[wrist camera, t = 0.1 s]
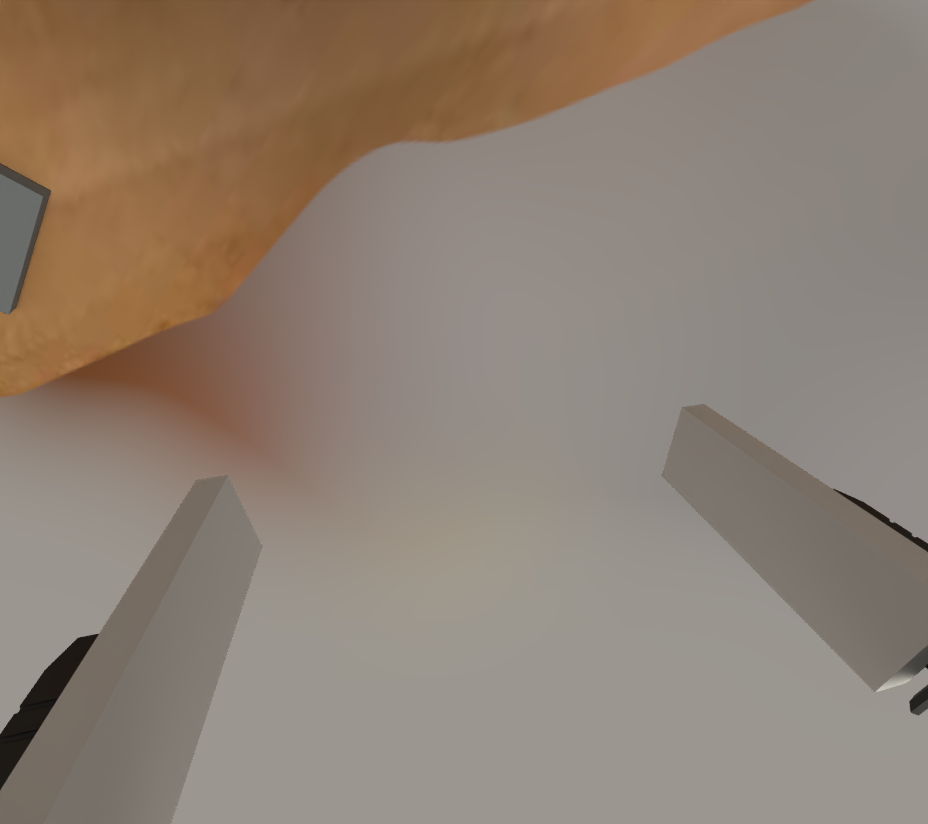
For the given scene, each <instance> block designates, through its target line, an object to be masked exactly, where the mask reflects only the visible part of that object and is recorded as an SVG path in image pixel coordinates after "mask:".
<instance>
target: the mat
mask: <svg viewBox="0 0 928 824" xmlns="http://www.w3.org/2000/svg"><path fill="white" fill-rule="evenodd" d="M49 194H50V190H48V189H46V188H44V187H42V186H40V185H39V184H37V183H35V182H33V181H31V180H29V179H27V178H26V177H24V176H22V175H20V174H18V173H16V172H15V171H13V170H11V169H9V168H7V167H5V166H3V165H2V164H0V311H1V312H3V313H6V314H10V313H11V312H12V311H13V310H14V309H15V308H16V306H17V302H18V299H19V296H20V292H21V289H22V286H23V282H24V279H25V275H26V272H27V269H28V265H29V262H30V259H31V255H32V252H33V248H34V245H35V242H36V238H37V235H38V232H39V228H40V225H41V221H42V218H43V215H44V211H45V208H46V205H47V201H48V198H49Z"/></svg>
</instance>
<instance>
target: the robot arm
mask: <svg viewBox="0 0 928 824" xmlns="http://www.w3.org/2000/svg"><path fill="white" fill-rule="evenodd" d="M662 477H663V478H664V479H665V480H666V481H667V482H668V483H669V484H670V485H671V486H672V487H673V488H674V489H675V490H676V491H677V492H678V493H679V494H680V495H681V496H682V497H683V498H684V499H685V500H686V501H687V502H688V503H689V504H690V505H691V506H692V507H693V508H694V509H695V510H696V511H697V512H698V513H699V514H700V515H701V516H702V517H703V518H704V519H705V520H706V521H707V522H708V523H709V524H710V525H711V526H712V527H713V528H714V529H715V530H716V531H717V532H718V533H719V534H720V536H721V537H722V538H723V539H724V540H725V541H726V542H727V543H728V544H729V545H730V546H731V547H733V549H734V550H735V551H736V552H737V553H738V554H739V555H740V556H741V557H742V558H743V559H744V560H745V561H746V562H747V563H748V564H749V565H750V566H751V567H752V568H753V569H754V570H755V571H756V572H757V573H758V574H759V575H760V576H761V577H762V578H763V579H764V580H765V581H766V582H767V583H768V584H769V585H770V586H771V587H772V588H773V589H774V590H775V591H776V592H777V593H778V594H779V595H780V596H781V598H782V599H783V600H785V602H786V603H787V604H788V605H790V606H791V608H793V610H794V611H795V612H796V613H797V614H798V615H799V616H800V617H801V618H802V619H803V620H804V621H805V622H806V623H807V624H808V625H809V626H810V627H811V628H812V629H813V630H814V631H815V632H816V633H817V634H818V635H819V636H820V637H821V638H822V639H823V640H824V641H825V642H826V643H827V644H828V645H829V646H830V647H831V648H832V649H833V650H834V651H835V652H836V653H837V654H838V655H839V656H840V657H841V658H842V659H843V661H844V662H846V664H848V666H849V667H850V668H851V669H852V670H853V671H854V672H855V673H856V674H857V675H858V676H859V677H860V678H861V679H862V680H863V681H864V682H865V683H866V684H867V685H868V686H869V687H870V688H871V689H872V690H873V691H874V692H877V691H881V690H884V689H888V688H891V687H894V686H898V685H901V684H905V683H907V682H908V681H909V680H911V679H912V678H913V677H914V676H915V675H916V674H918V673H919V672H920V671H921V670H922V669H923V668H925V667H926V668H927V669H928V543H926V542H924V541H923V540H921V539H920V538H918V537H916V538H915V537H913V536H912V533H910V532H909V531H907V530H906V529H904V528H903V527H901V526H900V525H898V524H897V523H891V522H890V521H889V518H887V517H886V516H884V515H883V514H881V513H879V512H878V511H876V510H875V509H873V508H872V507H870V506H868V505H867V504H866V503H864V502H862V501H860V500H858V499H856V498H853V497H851V496H849V495H846V494H844V493H842V492H840V491H838V490H835V489H832V488H830V487H829V486H827V485H826V484H824V483H823V482H821V481H819V480H818V479H816V478H815V477H813V476H812V475H810V474H809V473H807V472H806V471H804V470H803V469H801V468H800V467H798V466H797V465H795V464H794V463H792V462H791V461H789V460H788V459H786V458H785V457H783V456H782V455H780V454H779V453H777V452H776V451H774V450H773V449H771V448H770V447H768V446H767V445H765V444H763V443H762V442H761V441H759V440H758V439H756V438H754V437H753V436H752V435H750V434H748V433H747V432H746V431H744V430H742V429H741V428H739V427H738V426H736V425H735V424H733V423H732V422H730V421H729V420H727V419H726V418H724V417H723V416H721V415H720V414H718V413H717V412H715V411H714V410H712V409H711V408H709V407H708V406H706V405H704V404H701V405H694V406H688V407H682V409H681V412H680V416H679V419H678V422H677V426H676V429H675V432H674V436H673V439H672V443H671V446H670V449H669V453H668V456H667V460H666V463H665V466H664V470H663V473H662ZM261 549H262V544H261V542H260V540H259V538H258V536H257V534H256V532H255V530H254V528H253V526H252V523H251V522H250V519H249V517H248V516H247V513H246V511H245V509H244V507H243V505H242V503H241V501H240V499H239V497H238V495H237V493H236V490H235V488H234V486H233V484H232V482H231V480H230V478H229V476H228V475H227V476H219V477H213V478H206V479H199V480H196V481H195V483H194V485H193V486H192V488H191V489H190V491H189V492H188V494H187V496H186V497H185V499H184V500H183V502H182V504H181V505H180V507H179V508H178V510H177V511H176V513H175V515H174V516H173V518H172V520H171V521H170V523H169V524H168V526H167V527H166V529H165V530H164V532H163V534H162V535H161V537H160V538H159V540H158V541H157V543H156V545H155V546H154V548H153V549H152V551H151V553H150V554H149V556H148V557H147V559H146V560H145V562H144V564H143V565H142V567H141V569H140V570H139V572H138V573H137V575H136V576H135V578H134V579H133V581H132V583H131V584H130V586H129V587H128V589H127V591H126V592H125V594H124V595H123V597H122V598H121V600H120V602H119V604H118V605H117V606H116V608H115V610H114V611H113V613H112V614H111V616H110V618H109V619H108V621H107V622H106V624H105V625H104V627H103V629H102V630H101V632H100V633H99V634H95V635H90V636H85V637H80V638H77V639H76V640H75V641H74V642H73V643H72V644H71V645H70V646H69V647H68V648H67V649H66V650H65V651H64V652H63V653H62V654H61V655H60V656H59V657H58V658H57V659H56V660H55V661H54V662H53V663H52V664H51V665H50V666H49V667H48V668H47V669H46V670H45V671H44V672H43V674H42V675H41V676H40V678H39V679H38V681H37V683H36V684H35V685H34V687H33V688H32V689H31V691H30V692H29V694H28V695H27V697H26V698H25V699H24V701H23V702H22V704H21V705H20V711H19V712H18V713H17V714H14V715H13V717H12V718H11V720H10V721H9V722H8V724H7V725H6V727H5V728H4V730H3V731H2V733H1V734H0V824H171V822H172V819H173V816H174V813H175V810H176V807H177V804H178V801H179V798H180V794H181V792H182V789H183V786H184V782H185V779H186V777H187V773H188V771H189V767H190V764H191V761H192V758H193V755H194V752H195V749H196V746H197V743H198V740H199V737H200V734H201V731H202V728H203V725H204V722H205V719H206V716H207V712H208V710H209V707H210V703H211V700H212V697H213V695H214V692H215V689H216V685H217V682H218V679H219V676H220V673H221V670H222V667H223V664H224V661H225V658H226V655H227V652H228V649H229V646H230V643H231V640H232V637H233V634H234V631H235V628H236V625H237V622H238V619H239V616H240V613H241V610H242V606H243V603H244V600H245V597H246V594H247V591H248V588H249V585H250V582H251V579H252V576H253V573H254V570H255V567H256V564H257V561H258V558H259V555H260V552H261ZM926 709H928V685H927V686H926V687H924V688H923V689H922V690H921V691H919V692H918V693H917V694H916V695H915V696H914V697H913V698H912V699H911V700H910V711H911V713H913V714H916V715H920V714H921V713H922V712H924V711H925V710H926Z"/></svg>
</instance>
